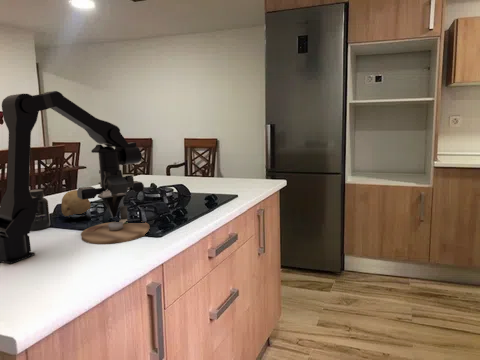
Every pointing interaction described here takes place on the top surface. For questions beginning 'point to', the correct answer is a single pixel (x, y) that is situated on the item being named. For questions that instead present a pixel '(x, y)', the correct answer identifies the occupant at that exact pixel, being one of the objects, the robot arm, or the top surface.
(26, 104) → the robot arm
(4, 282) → the top surface
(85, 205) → the natural sponge
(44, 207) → the supplement bottle
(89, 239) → the round wooden board
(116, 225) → the multicoloured piece
